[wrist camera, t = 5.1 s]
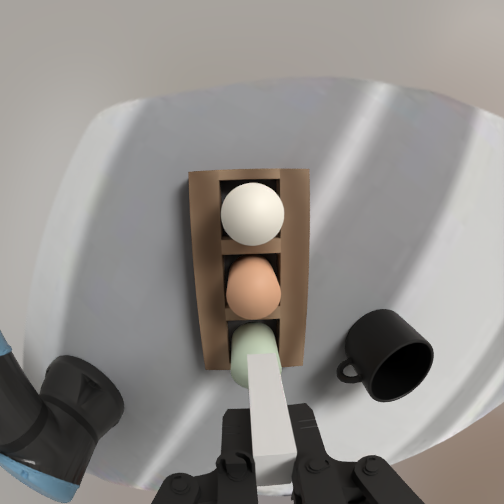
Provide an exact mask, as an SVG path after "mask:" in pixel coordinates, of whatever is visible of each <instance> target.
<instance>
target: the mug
mask: <svg viewBox="0 0 504 504" xmlns="http://www.w3.org/2000/svg"><path fill="white" fill-rule="evenodd" d="M345 351H346V355H347V357H348V358H347V360H345V361H343V362H342V363H341V364H340V365H339V366H338V368H337V377H338V379H339V380H340V381H342V382H345V383H357V382H362V383H363V385H364V386H365V388H366V390H367V391H368V393H369V395H370V396H371V397H372V398H373V399H374V400H376V401H379V402H391V401H395V400H397V399H400V398H402V397H404V396H406V395H407V394H409V393H410V392H412V391H413V390H414V389H415V388H416V387H417V386H418V385H419V384H420V383H421V382H422V381H423V380H424V378H425V377H426V376H427V374H428V372H429V370H430V368H431V366H432V363H433V358H434V352H433V348H432V346H431V344H430V343H429V342H428V341H427V340H426V339H425V338H424V337H422V336H421V335H420V334H419V333H418V332H417V331H416V330H415V329H414V328H413V327H411V326H410V325H409V324H408V323H407V322H406V321H405V320H404V319H403V318H401V317H400V316H399V315H398V314H397V313H395V312H394V311H391V310H387V309H380V310H375V311H372V312H370V313H368V314H366V315H365V316H363V317H362V318H361V319H359V320H358V321H357V322H356V323H355V324H354V326H353V327H352V328H351V330H350V332H349V334H348V336H347V339H346V345H345ZM348 365H352V366H353V367H354V369H355V371H356V373H357V374H358V375H357V376H354V377H349V376H346V375H344V374H343V369H344V368H345V367H347V366H348Z"/></svg>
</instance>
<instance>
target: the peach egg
mask: <svg viewBox="0 0 504 504" xmlns="http://www.w3.org/2000/svg"><path fill="white" fill-rule="evenodd" d="M226 297H227V302H228V305H229V307H230V308H231V310H232V311H233V312H234V313H235V314H237V315H238V316H240V317H242V318H245V319H250V320H256V319H261V318H264V317H266V316H268V315H270V314H271V313H272V312H273V311H274V310H275V309H276V308H277V306H278V305H279V302H280V299H281V290H280V286H279V283H278V281H277V278H276V276H275V273H274V271H273V268H272V266H271V264H270V262H269V261H268V260H267V259H266V258H265V257H263V256H261V255H258V254H245V255H242V256H240V257H238V258H237V259H236V260H235V261H234V262H233V263H232V265H231V267H230V270H229V277H228V285H227V293H226Z"/></svg>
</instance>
